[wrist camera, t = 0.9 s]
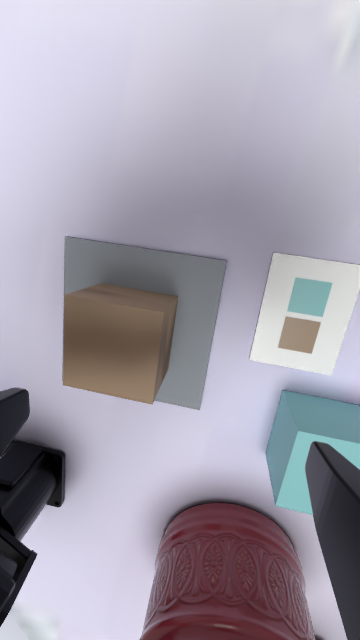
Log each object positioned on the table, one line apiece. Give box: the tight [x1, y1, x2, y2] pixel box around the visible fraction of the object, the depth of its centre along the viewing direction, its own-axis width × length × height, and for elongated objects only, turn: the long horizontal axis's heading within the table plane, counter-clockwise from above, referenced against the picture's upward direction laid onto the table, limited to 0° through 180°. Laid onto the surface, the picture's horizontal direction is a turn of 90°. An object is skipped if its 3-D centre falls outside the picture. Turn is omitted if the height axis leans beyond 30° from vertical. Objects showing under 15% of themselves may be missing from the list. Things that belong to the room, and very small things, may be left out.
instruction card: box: [249, 253, 360, 376], centre depth 20 cm, size 8×6×1 cm
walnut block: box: [63, 283, 178, 404], centre depth 19 cm, size 6×6×5 cm
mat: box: [62, 237, 227, 410], centre depth 22 cm, size 12×12×1 cm
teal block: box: [266, 390, 360, 515], centre depth 20 cm, size 6×6×5 cm
